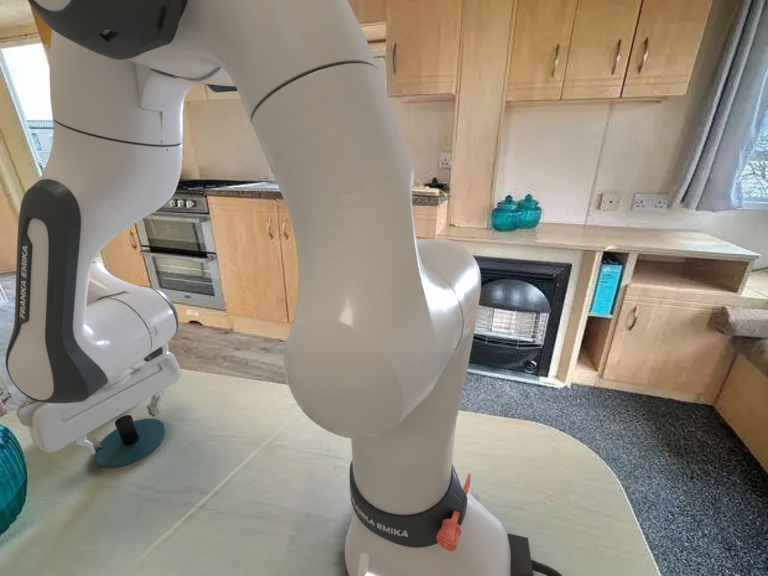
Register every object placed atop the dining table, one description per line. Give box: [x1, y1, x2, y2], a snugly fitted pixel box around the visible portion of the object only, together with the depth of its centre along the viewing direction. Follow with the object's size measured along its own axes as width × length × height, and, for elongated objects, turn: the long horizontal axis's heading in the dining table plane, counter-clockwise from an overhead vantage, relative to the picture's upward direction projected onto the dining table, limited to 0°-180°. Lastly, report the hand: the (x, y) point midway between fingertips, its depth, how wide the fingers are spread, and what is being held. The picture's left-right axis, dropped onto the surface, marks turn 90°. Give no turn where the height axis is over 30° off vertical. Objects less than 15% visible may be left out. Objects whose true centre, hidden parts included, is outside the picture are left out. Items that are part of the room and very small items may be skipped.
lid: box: [93, 414, 167, 469], centre depth 59 cm, size 10×10×6 cm
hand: (127, 430), depth 59 cm, fingers open, 8 cm apart
